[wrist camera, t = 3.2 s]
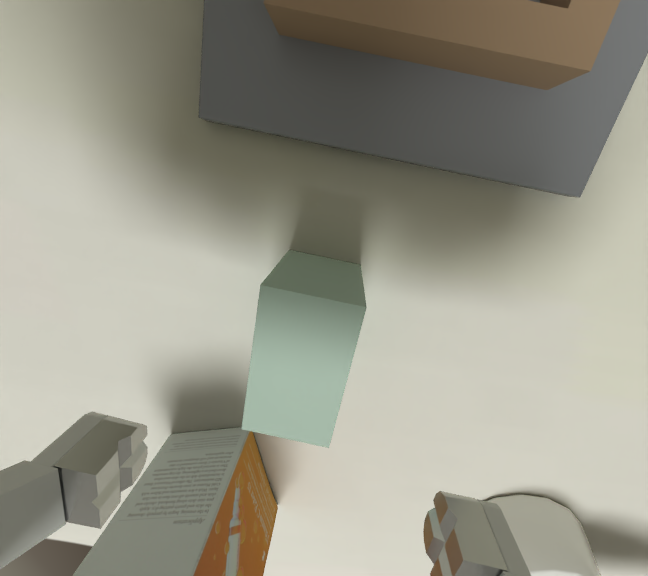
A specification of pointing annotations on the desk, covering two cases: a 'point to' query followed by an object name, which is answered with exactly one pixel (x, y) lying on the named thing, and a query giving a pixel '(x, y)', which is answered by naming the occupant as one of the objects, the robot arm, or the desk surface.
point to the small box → (192, 512)
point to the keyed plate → (431, 79)
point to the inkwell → (548, 536)
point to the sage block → (303, 347)
